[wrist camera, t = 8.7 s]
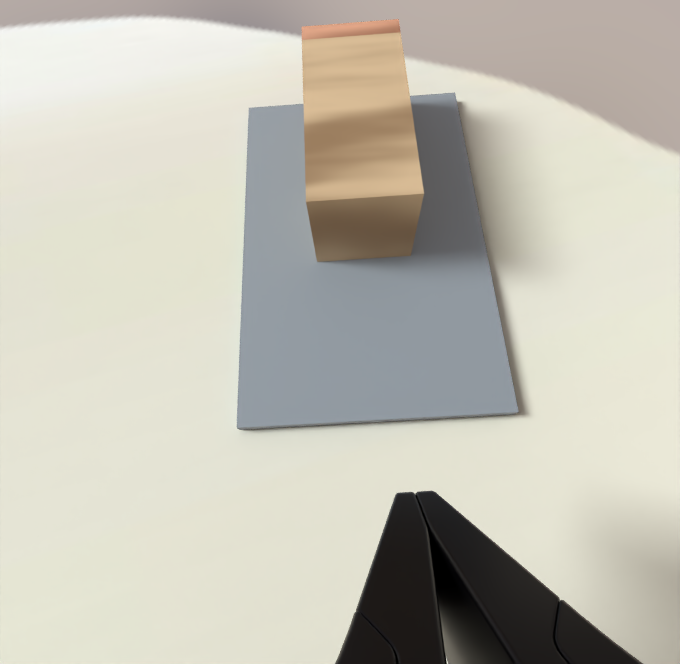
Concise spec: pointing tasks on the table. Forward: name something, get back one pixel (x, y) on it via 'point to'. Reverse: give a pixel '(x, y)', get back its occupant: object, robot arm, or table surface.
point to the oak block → (359, 142)
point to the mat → (366, 295)
